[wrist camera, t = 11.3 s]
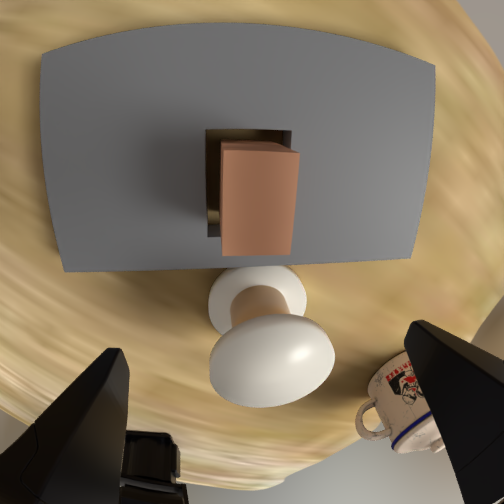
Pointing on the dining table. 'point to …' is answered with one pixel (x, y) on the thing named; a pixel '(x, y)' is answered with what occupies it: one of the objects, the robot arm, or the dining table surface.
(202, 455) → the dining table surface
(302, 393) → the spool
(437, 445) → the white printed mug
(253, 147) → the brown rectangular block
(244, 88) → the slotted board
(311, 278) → the dining table surface
